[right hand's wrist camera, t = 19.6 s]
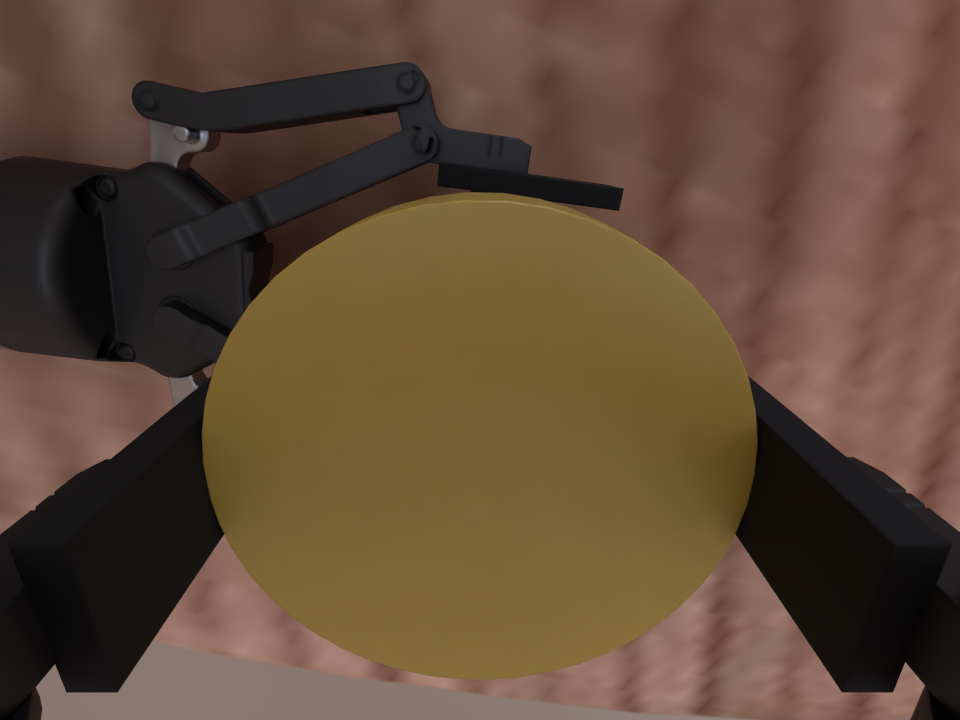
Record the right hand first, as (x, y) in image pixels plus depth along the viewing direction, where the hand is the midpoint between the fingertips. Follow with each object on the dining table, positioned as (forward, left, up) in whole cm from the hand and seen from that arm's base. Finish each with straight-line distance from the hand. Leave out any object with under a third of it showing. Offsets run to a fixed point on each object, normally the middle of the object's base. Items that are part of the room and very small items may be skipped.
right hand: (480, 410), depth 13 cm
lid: (0, 0, +3) cm, 3 cm away
